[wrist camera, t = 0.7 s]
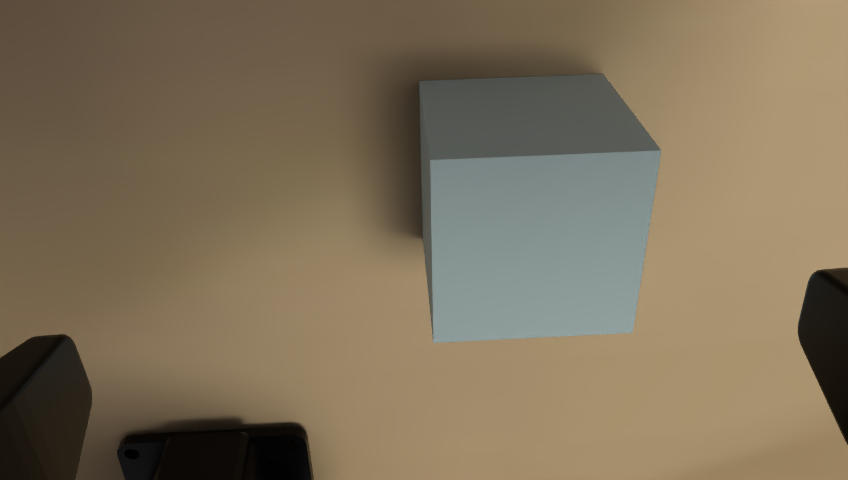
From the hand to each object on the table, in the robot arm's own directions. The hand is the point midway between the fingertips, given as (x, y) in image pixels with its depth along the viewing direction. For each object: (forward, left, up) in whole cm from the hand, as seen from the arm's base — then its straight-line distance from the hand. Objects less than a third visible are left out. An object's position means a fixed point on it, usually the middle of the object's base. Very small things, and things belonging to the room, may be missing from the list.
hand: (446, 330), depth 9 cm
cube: (-4, -3, -12) cm, 13 cm away
